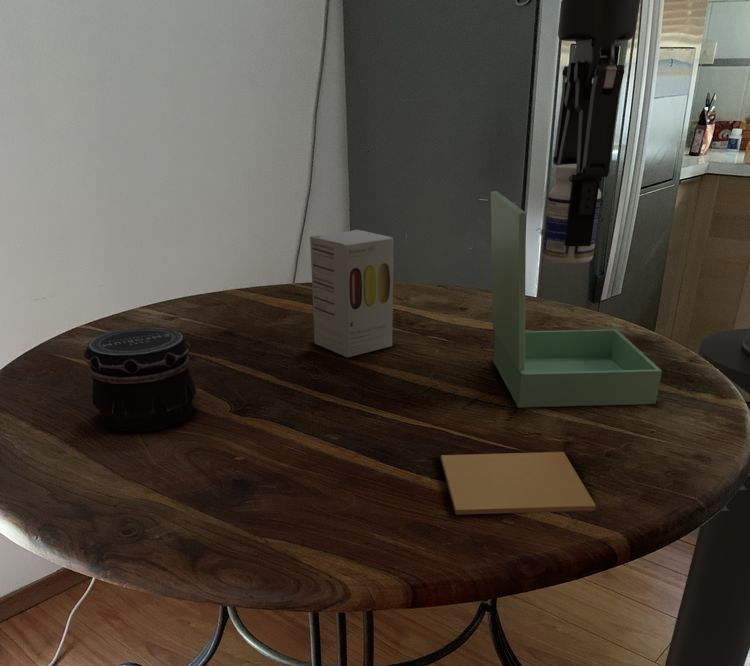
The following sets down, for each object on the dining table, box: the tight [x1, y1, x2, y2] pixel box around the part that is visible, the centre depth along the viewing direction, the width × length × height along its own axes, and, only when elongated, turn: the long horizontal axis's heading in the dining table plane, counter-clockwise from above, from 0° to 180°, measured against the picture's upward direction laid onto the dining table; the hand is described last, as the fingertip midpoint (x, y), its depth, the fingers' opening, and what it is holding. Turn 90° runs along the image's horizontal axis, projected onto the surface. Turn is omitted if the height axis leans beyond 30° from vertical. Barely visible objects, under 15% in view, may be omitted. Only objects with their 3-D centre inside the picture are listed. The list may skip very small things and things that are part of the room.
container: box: [83, 326, 197, 433], centre depth 92 cm, size 13×13×10 cm
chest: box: [492, 328, 663, 409], centre depth 102 cm, size 18×18×5 cm
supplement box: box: [309, 229, 394, 358], centre depth 114 cm, size 10×9×17 cm
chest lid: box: [490, 190, 527, 371], centre depth 96 cm, size 19×18×1 cm
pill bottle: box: [542, 164, 602, 265], centre depth 82 cm, size 6×6×10 cm
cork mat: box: [440, 451, 597, 516], centre depth 78 cm, size 14×12×1 cm
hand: (569, 239), depth 83 cm, fingers closed on pill bottle, 6 cm apart
